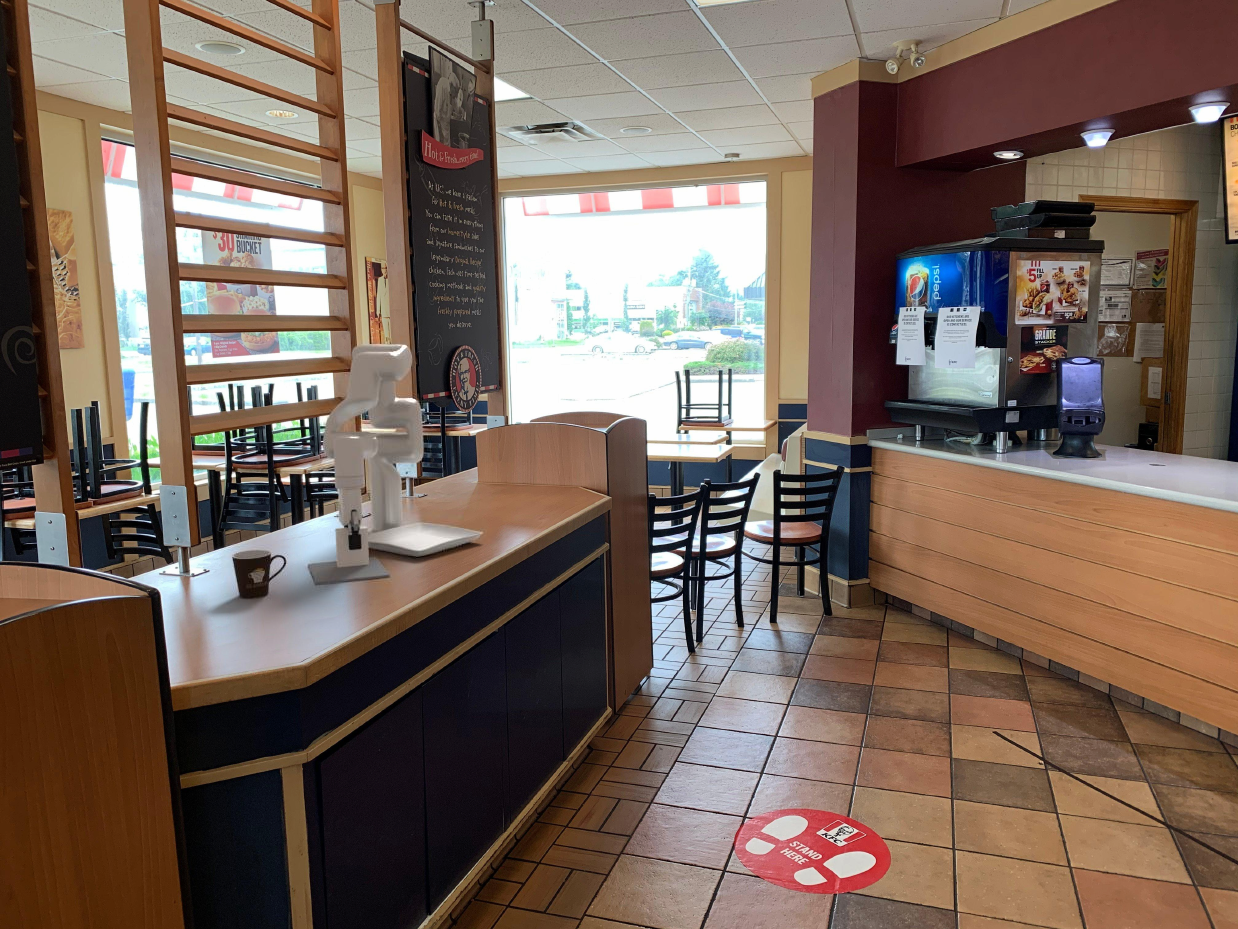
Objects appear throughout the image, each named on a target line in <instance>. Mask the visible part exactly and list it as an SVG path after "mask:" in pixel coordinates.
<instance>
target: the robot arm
mask: <svg viewBox="0 0 1238 929" xmlns="http://www.w3.org/2000/svg"><path fill="white" fill-rule="evenodd" d="M351 358H352V360H351V366H350V372H349V380H348V385H347V394H346V396H345V397H346V398H344V400H342V401H341V402H340V403H339V404H337V405H336V407H335V408H334V409H333V410H332V411H331V412H330V414H329V415H328V417H327V419H326V422H325V426H324V430H323V431H324V432H323V438H322V449H323V453H324V455H325V456H326V457H327V458H329V459H333V462H334V485H335V489H337V490H338V520H339V523H340V524H341V525H342V526H343V528H349V535H348V542H349V550H358V549H361V548H362V545H361V532H360V527H361V526H360V525H362V524H363V506H362V504H363V503H362V490H361V489H363V488H365V487H366V480H365V460H367V461H368V462H367V463H368V470H369V488H370V489H369V490H370V511H371V513H370V514H371V515H370V516H371V517H370V518H371V527H369V528H368V527H367V528H368V535H369V534H373V533H377V532H380V531H384V530H388V529H392V528H397V527H401V526H404V525H403V524H404V520H403V518H404V517H403V493H402V492H403V488H402V475H401V474H400V472H399V471H398V469H397V468H396V467H395V464H416V463H419V462H420V461H422V459H423V457H424V432H423V415H422V408H421V405H420V403H419V401H418V400H417V399H414V398H410V397H409V398H408V397H407V398H406V397H405V398H404V397H403V398H401V397H399V398H398V397H397V392H396V382H400V381H401V380H403V379H404V378H405V377H406V375H407V374H408V373H409V371H410V370H411V369H412V368H411V367H412V364H413V355H412V351H411V348H410V347H408V346H407V345H406V344H385V343H384V344H381V343H379V344H378V343H377V344H376V343H375V344H374V343H372V344H366V343H365V344H361V345H360V344H359V345H356V346H355V347H354V348H353V349H352V352H351ZM365 413H367V414H368V420H369V424H370V425H371V427H372V428H375V429H380V430H405V431H406V432H376V433H372V432H369V431H353V430H351V431H349V430H348V431H346V430H345V431H343V430H342V431H339V430H340V428H341V427H342V425H343V424H344V423H346V422H347V421H349V420H351V419H352V418H355V417H358V416H361V415H362V414H365ZM351 527H352V528H351ZM351 529H352V530H351Z"/></svg>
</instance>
